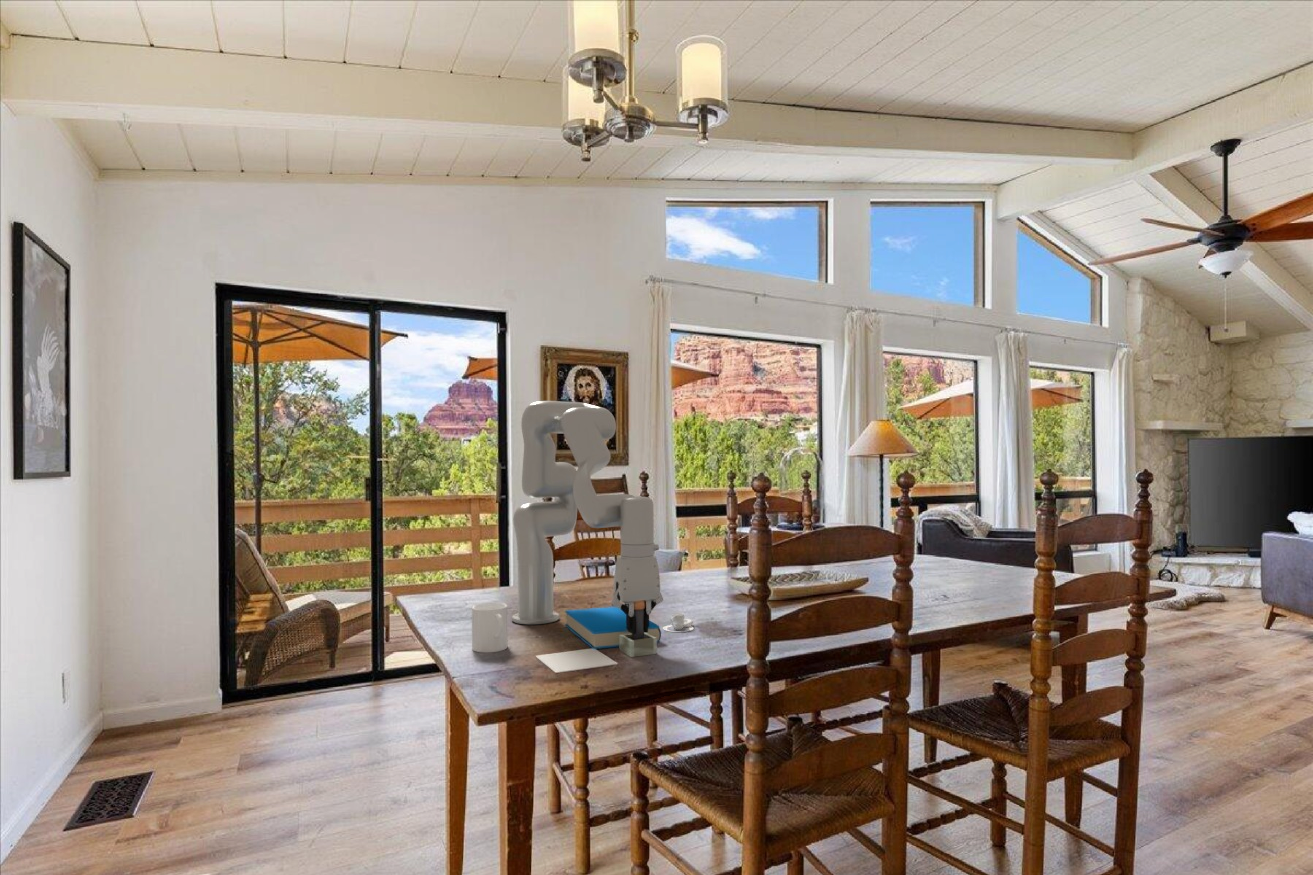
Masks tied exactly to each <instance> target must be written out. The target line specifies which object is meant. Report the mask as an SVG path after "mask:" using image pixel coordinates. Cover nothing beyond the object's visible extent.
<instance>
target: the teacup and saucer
mask: <svg viewBox="0 0 1313 875" xmlns="http://www.w3.org/2000/svg"><path fill="white" fill-rule="evenodd" d="M669 620H670V621H669V622H670V624H668V625H665V626H663V627H662V630H663V631H665V632H670V633H687V632H690V631H693V630H694V629H695V628H694V627H693V626H692V625H693V624H694V622H693V620H692V619H688V618H685V613H682V612H674V613H672V614H671V617H670V619H669ZM671 627H672V628H673V629H674V630H669V628H671ZM684 628H688V629H687V630H684ZM676 630H677V631H676Z"/></svg>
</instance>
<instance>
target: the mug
mask: <svg viewBox="0 0 1313 875" xmlns="http://www.w3.org/2000/svg"><path fill="white" fill-rule="evenodd" d="M508 608H509V607H508V604H506V603H504V602H503V603H502V602H484V603H483V602H482V603H477V604H475V605H473V606H472V607H471V638H472V639H471V649H472V651H474V652H477V653H482V654H483V653H484V654H485V653H487V654H488V653H498V652H502V651H504V650H507V648H508V647H509V646H508V645H509V644H508V643H509V640H508V638H509V636H508V635H509V634H508V631H509V630H508V626H509V624H508V612H509V611H508Z"/></svg>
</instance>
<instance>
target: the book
mask: <svg viewBox="0 0 1313 875" xmlns="http://www.w3.org/2000/svg"><path fill="white" fill-rule="evenodd" d="M564 613H565V614H566V616H565V617H566V618H565V619H566V622H565V623H564V626H565V627H566V628H567V629H568V630H570V631H571V632H572V633H573V634H575V635H576V636H577V637H578V638H579V639H581V640H582V641H583V642H584V643H585V644H587V645H588V647H591V648H593V649H596V650H597V649H607V648H614V647H615V648H617V647H618V648H619V635H624V634H632V633H630V632H628V630H627V628H626V614H625V613H624V612H623V611H622V610H621V609H619V608H617V607H614V606H610V607H609V606H607V607H596V608H583V609H569V610H565V612H564ZM646 633H648V634H650V635H652V636H654V637H656V638H657V644H659V643H660V640H661V637H662V631H661V628H660V626H659V624H656V623H654V622H653V621H651V620H649V627H648V632H646Z"/></svg>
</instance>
